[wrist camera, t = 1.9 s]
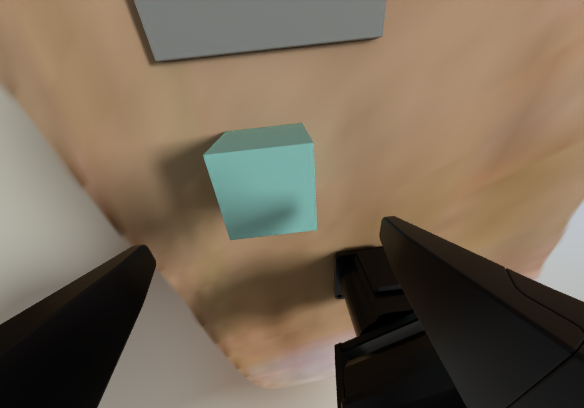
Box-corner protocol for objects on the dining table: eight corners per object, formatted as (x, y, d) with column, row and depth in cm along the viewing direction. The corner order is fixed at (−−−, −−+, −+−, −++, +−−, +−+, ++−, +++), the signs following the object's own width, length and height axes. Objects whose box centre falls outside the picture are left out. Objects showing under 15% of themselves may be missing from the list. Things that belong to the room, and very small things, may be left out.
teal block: (306, 190, 16) (316, 230, 12) (242, 197, 16) (230, 240, 12) (301, 122, 14) (313, 142, 9) (225, 131, 14) (202, 154, 9)
